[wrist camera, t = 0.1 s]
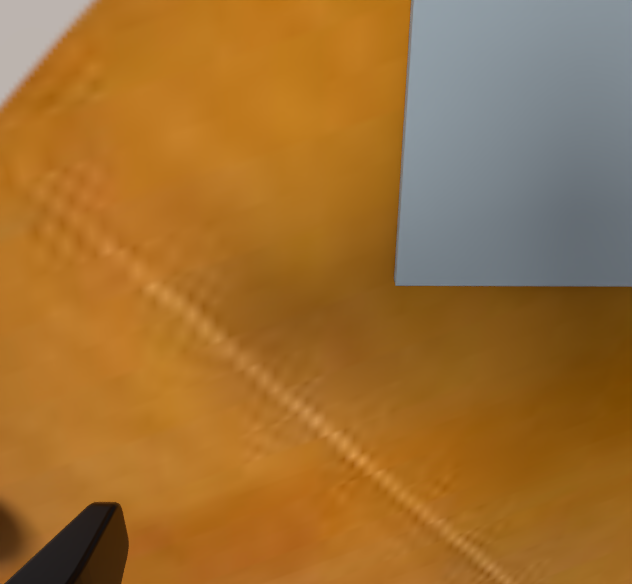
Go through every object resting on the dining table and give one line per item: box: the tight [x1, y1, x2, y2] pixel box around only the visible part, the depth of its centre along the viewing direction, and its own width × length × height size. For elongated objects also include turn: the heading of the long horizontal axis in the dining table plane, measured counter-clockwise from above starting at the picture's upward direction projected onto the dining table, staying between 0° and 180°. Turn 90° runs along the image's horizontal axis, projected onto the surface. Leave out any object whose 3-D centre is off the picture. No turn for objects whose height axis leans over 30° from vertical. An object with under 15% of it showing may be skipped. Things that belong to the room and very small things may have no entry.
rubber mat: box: [394, 0, 632, 286], centre depth 20 cm, size 12×12×1 cm
